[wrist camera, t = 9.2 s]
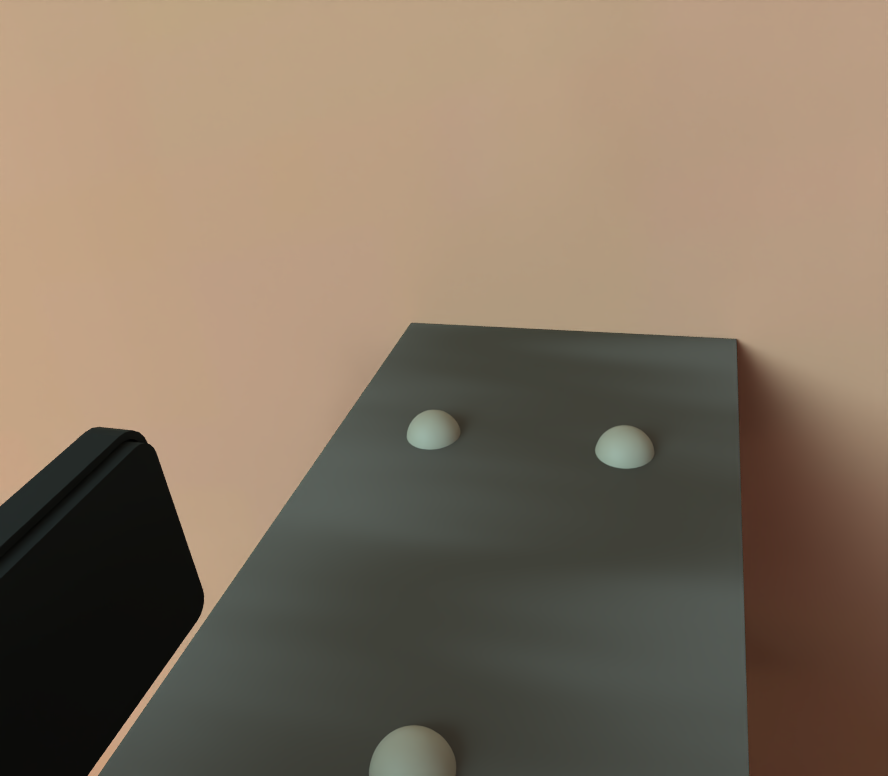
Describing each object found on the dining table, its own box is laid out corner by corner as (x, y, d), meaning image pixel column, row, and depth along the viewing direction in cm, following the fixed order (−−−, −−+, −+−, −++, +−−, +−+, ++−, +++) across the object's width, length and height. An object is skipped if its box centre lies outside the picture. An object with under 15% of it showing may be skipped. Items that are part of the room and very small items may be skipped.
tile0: (738, 320, 12) (776, 1375, 3) (725, 440, 13) (730, 1455, 5) (409, 306, 13) (-113, 1025, 5) (422, 415, 14) (15, 1150, 6)
